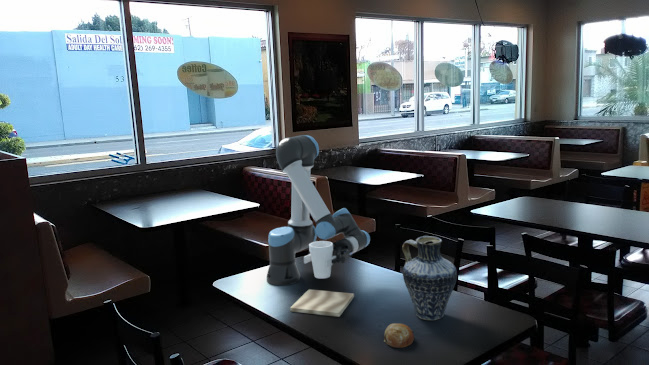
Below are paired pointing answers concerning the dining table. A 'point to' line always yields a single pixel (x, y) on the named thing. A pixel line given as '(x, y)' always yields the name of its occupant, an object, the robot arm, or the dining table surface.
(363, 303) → the dining table surface
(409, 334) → the bread roll
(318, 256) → the foam cup
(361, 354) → the dining table surface
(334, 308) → the serving board
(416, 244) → the jug
